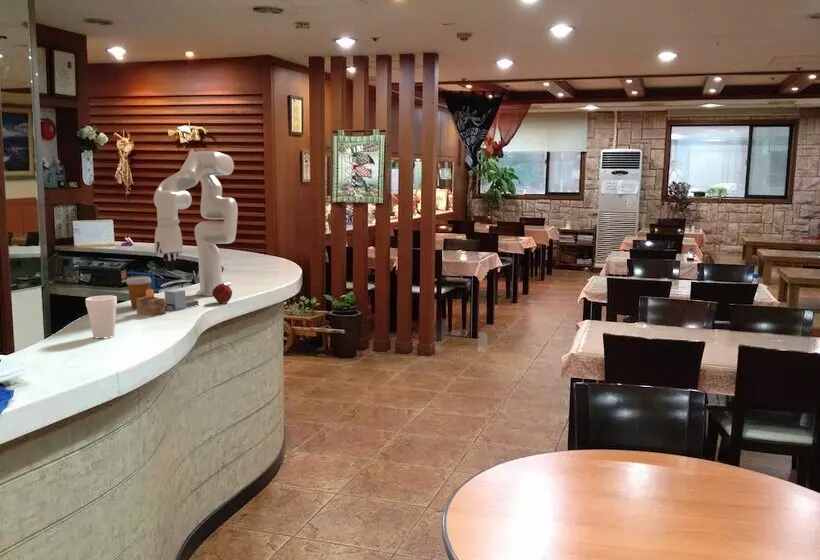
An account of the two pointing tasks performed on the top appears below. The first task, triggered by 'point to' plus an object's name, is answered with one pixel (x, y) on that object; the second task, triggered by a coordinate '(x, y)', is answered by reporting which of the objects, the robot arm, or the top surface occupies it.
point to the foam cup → (102, 315)
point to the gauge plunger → (150, 294)
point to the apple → (222, 293)
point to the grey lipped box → (175, 298)
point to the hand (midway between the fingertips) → (170, 270)
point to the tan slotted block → (150, 306)
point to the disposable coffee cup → (137, 288)
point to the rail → (188, 303)
